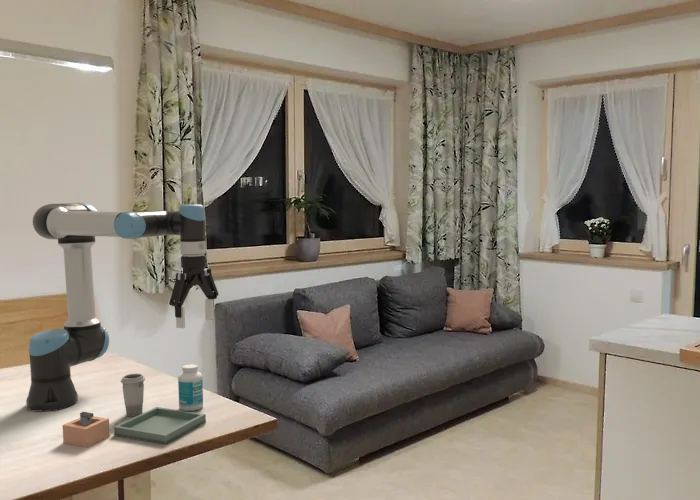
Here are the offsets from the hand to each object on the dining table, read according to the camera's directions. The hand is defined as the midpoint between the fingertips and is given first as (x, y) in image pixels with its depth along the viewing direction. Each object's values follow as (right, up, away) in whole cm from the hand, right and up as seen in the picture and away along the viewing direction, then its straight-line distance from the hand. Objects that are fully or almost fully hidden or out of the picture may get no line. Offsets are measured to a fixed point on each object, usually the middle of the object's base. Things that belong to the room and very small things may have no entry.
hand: (195, 323), depth 197 cm
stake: (-25, -30, -20) cm, 44 cm away
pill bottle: (-3, -27, +5) cm, 28 cm away
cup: (-19, -28, 0) cm, 34 cm away
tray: (-7, -29, -13) cm, 32 cm away
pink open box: (-25, -30, -20) cm, 44 cm away
